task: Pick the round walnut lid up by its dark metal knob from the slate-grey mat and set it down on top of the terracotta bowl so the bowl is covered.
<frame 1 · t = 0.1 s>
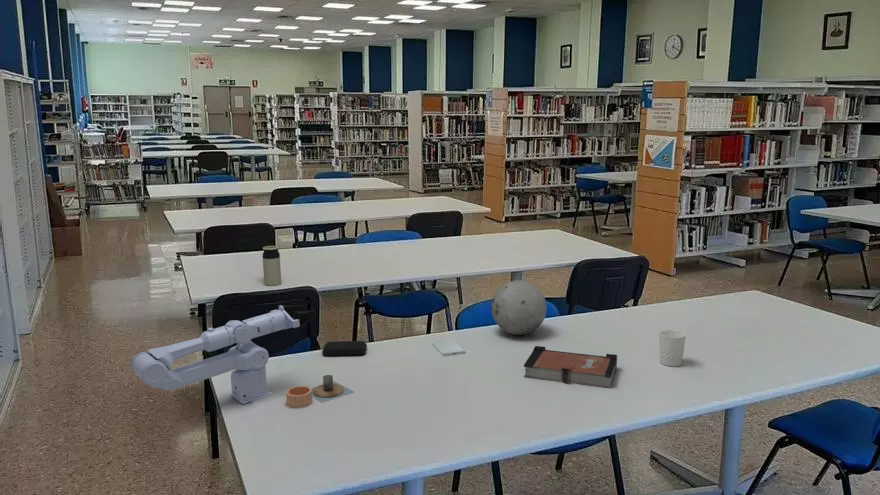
hand: (309, 311, 204), 22 cm above the table, tool horizontal, fingers open, 7 cm apart
travel mug: (272, 284, 325), on the table
moon model: (518, 334, 249), on the table
lid: (328, 391, 198), resting on mat
white cup: (670, 363, 219), on the table
mat: (328, 393, 198), on the table
hard drive: (448, 351, 234), on the table
carrying case or bag: (345, 352, 232), on the table
book: (570, 375, 211), on the table
bowl: (299, 404, 191), on the table
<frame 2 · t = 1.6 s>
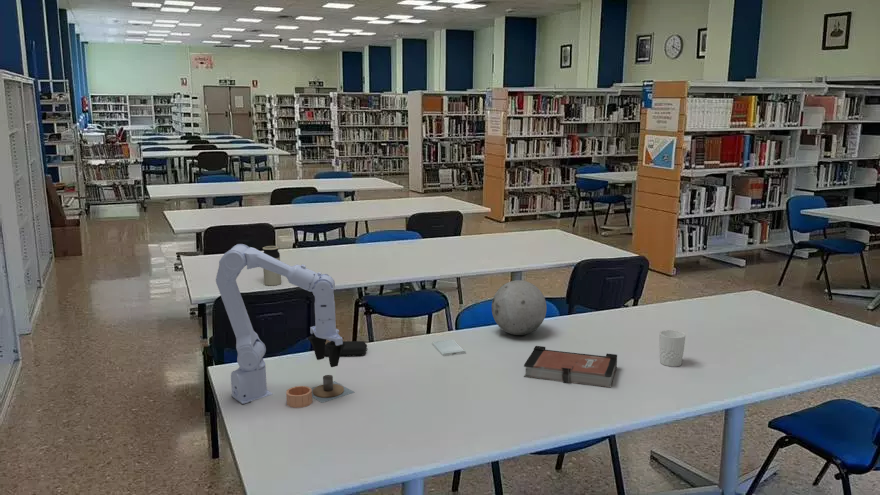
hand: (327, 362, 196), 9 cm above the table, tool pointing down, fingers open, 7 cm apart
nothing on the table moved.
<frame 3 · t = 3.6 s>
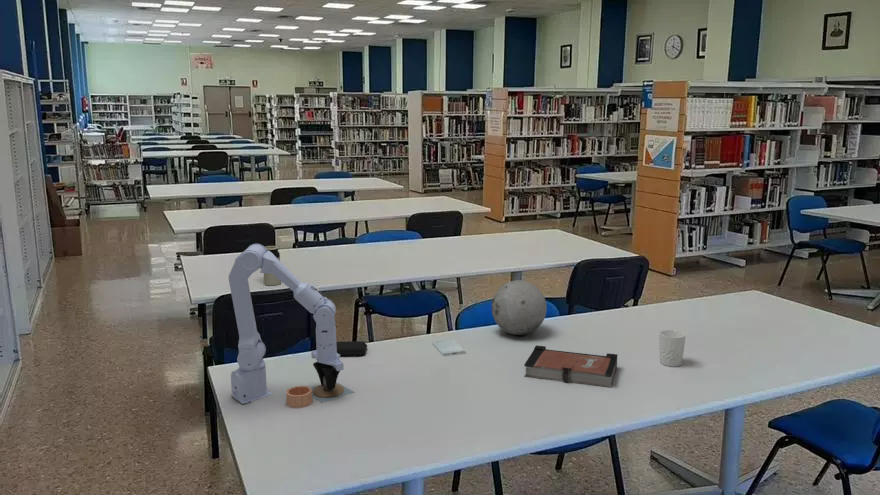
hand: (328, 387, 197), 2 cm above the table, tool pointing down, fingers closed on lid, 3 cm apart
lid: (328, 391, 198), point 1 cm above the table, touching gripper, mat
everything else where it was.
when the fingers open (6 cm above the table, at t = 6.4 s): lid stays where it is, resting on bowl.
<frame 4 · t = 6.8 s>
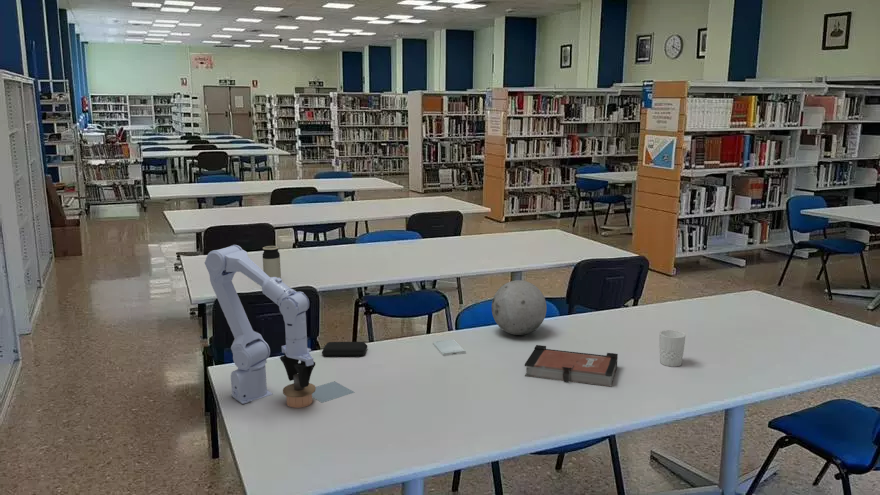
hand: (298, 383, 189), 6 cm above the table, tool pointing down, fingers open, 6 cm apart
lid: (299, 390, 190), point 4 cm above the table, touching bowl
bowl: (299, 404, 191), on the table, touching lid
everything else where it was.
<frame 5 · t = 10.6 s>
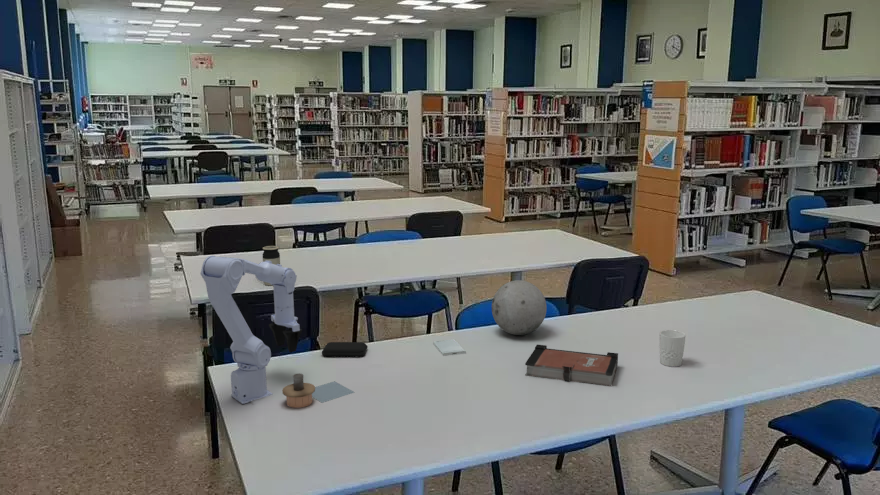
hand: (286, 348, 208), 9 cm above the table, tool pointing down, fingers open, 7 cm apart
at the end: lid 0.1 cm from the bowl (horizontally); lid point 3.9 cm above the table; the gripper is holding nothing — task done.
